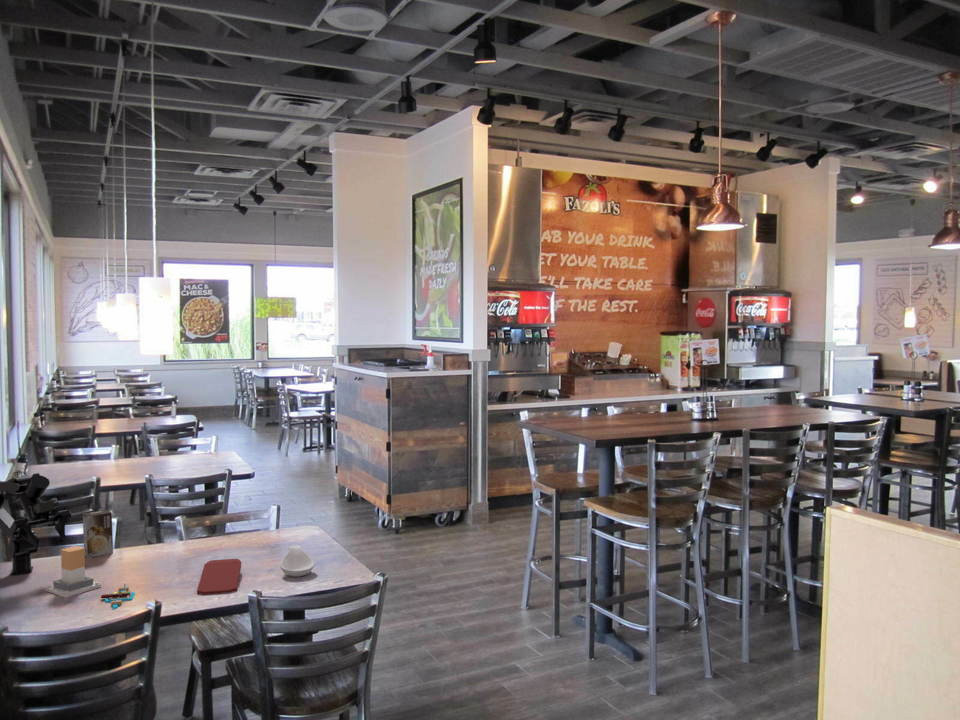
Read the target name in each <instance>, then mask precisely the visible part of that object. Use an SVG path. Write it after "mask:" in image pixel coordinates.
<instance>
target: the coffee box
mask: <svg viewBox="0 0 960 720" xmlns="http://www.w3.org/2000/svg"><path fill="white" fill-rule="evenodd" d="M112 515H113V514H112V512H111V511H110V510H108V509H106V510H99V511H91V512H85V513H82V530H83V531H82V532H83V533H82V534H83V536H82V537H83V548H84V552H85V556H86V558H94V557H99V556H100V557H101V556H105V555H111V554H114V544H113V543H114V542H113V517H112Z"/></svg>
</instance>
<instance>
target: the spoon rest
mask: <svg viewBox="0 0 960 720" xmlns="http://www.w3.org/2000/svg"><path fill="white" fill-rule="evenodd" d="M314 567H315V561H314V559H313V558H311V557H310V556H309V554H307V552H305V551H304V549H303V548H302V547H301V546H300V545H299V544H297V545H290V546H289V549H288V551H287V553H286V555H285V556H284V557H283V559H282V561H281V563H280V569H281V571H282V573H284V574H285V575H287V576H290V577H293V578H294V577H295V578H296V577H297V578H298V577H304V576H306V575H308V574H309V573H310V572H312V571H313V569H314Z"/></svg>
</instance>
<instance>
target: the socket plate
mask: <svg viewBox="0 0 960 720" xmlns="http://www.w3.org/2000/svg"><path fill="white" fill-rule="evenodd" d="M52 583H53V584H49V585H47V586H46V587H45V588H44V589H45V590H44V591H45V592H48V593H51V594H54V595H57V596H60V597H63V598H68V597H72V596H75V595H79V594H81V593H85V592H89V591H91V590H95V589H98V588H101V587H102V583H100V582H99V581H94V577H93V578H92V577H91V576H87V575H85V580H83V581H80V582H77V583H73V584H70V585H68V584H65V583H62V578H60V579H56V580H53V581H52Z"/></svg>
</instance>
